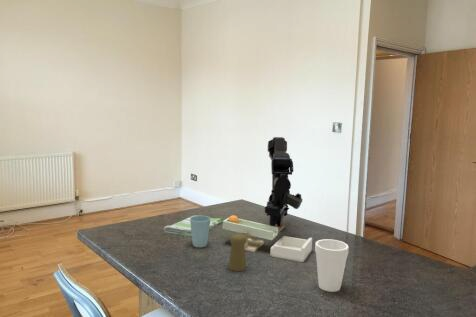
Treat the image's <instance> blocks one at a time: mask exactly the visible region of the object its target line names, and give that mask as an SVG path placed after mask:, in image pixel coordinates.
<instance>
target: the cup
mask: <svg viewBox="0 0 476 317" xmlns="http://www.w3.org/2000/svg"><path fill="white" fill-rule="evenodd" d="M192 216H193V217H191V216H190V217H191V218H190V224H191V233H192V236H191V241H192V246H193V247H195V248H204V247H207V246H208V243H209V242H208V241H209V234H210V230H209V227H210V219H211V218H212V217H210V216H207V215H199V216H194V215H192Z"/></svg>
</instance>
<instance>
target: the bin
mask: <svg viewBox="0 0 476 317" xmlns="http://www.w3.org/2000/svg"><path fill="white" fill-rule="evenodd" d="M312 249H313V237H309V238H308V239H307V238H306V239H304V238H300V237H299V238H298V237H293V236H288V235H287V236H286V235H283V236H282V237H281V238H279V239H278V240H277V241H276V242H275V243H274V244H273V245H272V246H271V247H270V251H269V252H270V254H269V255H270V257H273V258H277V259H283V260H289V261H294V262H298V263H299V262H300V263H304V262H305V261H306V259H308V257H309V255H310V254H311V252H312V251H313V250H312Z"/></svg>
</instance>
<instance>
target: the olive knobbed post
mask: <svg viewBox="0 0 476 317" xmlns="http://www.w3.org/2000/svg"><path fill="white" fill-rule="evenodd" d="M229 242H230V244H231V247H230V253H229V261H228V267H227V268H228V269H229V270H230V271H234V272H243V271H246V270H247V259H246V250H245V248H244V245H245V243H246V237H245V236H244V235H242V233H235V234H232V235H231V236H230V239H229Z"/></svg>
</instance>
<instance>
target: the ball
mask: <svg viewBox="0 0 476 317" xmlns="http://www.w3.org/2000/svg"><path fill="white" fill-rule="evenodd" d="M228 218H229V219H228V222H232V223H237V224H238V222H239V219H240V218H239V217H238V215H234V214H233V215H230V216H229V217H228Z"/></svg>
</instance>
